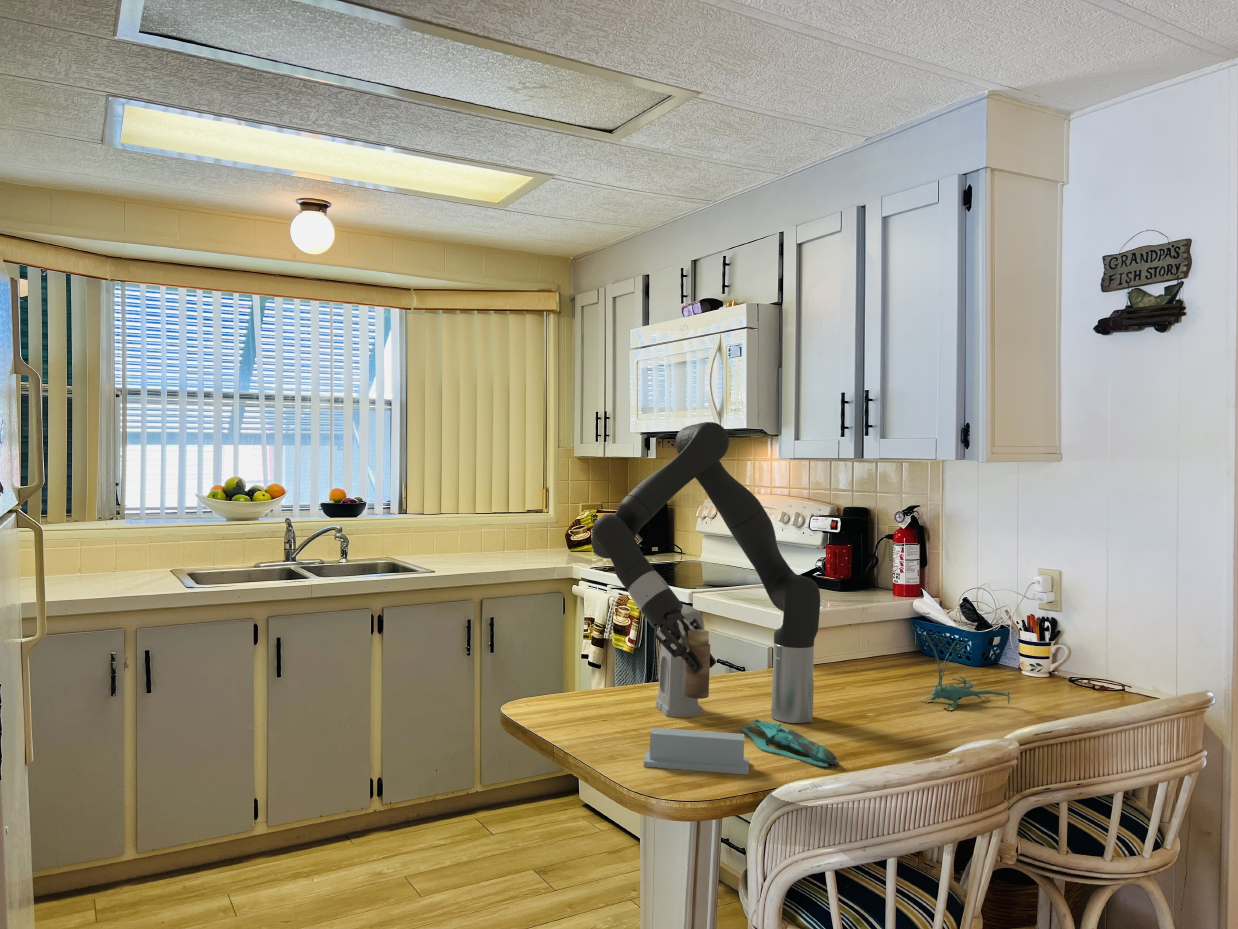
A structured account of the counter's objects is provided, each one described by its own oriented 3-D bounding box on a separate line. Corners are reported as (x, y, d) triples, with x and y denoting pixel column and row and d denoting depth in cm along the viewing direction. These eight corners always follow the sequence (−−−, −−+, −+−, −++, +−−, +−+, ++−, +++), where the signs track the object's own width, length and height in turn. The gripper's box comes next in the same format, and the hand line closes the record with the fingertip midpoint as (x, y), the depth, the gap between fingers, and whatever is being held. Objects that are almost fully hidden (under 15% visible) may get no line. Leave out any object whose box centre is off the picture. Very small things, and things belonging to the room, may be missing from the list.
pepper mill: (709, 693, 179) (711, 629, 179) (708, 699, 174) (710, 634, 174) (684, 691, 180) (687, 628, 180) (682, 697, 175) (685, 633, 175)
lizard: (881, 699, 232) (882, 619, 232) (955, 690, 242) (957, 612, 242) (946, 724, 211) (948, 636, 211) (1025, 713, 221) (1027, 628, 221)
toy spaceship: (812, 779, 174) (814, 753, 174) (723, 734, 197) (724, 711, 197) (854, 769, 180) (856, 745, 180) (763, 727, 203) (764, 705, 203)
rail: (748, 762, 179) (749, 732, 179) (748, 774, 172) (749, 743, 172) (647, 754, 182) (648, 725, 182) (643, 766, 175) (644, 735, 175)
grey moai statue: (713, 717, 210) (717, 609, 209) (673, 721, 206) (677, 610, 205) (684, 700, 223) (687, 599, 223) (646, 704, 219) (649, 600, 219)
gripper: (647, 591, 175) (701, 663, 169) (684, 583, 187) (735, 650, 181) (624, 615, 178) (675, 687, 172) (661, 606, 190) (710, 673, 184)
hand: (705, 667), depth 176 cm, fingers closed on pepper mill, 4 cm apart
